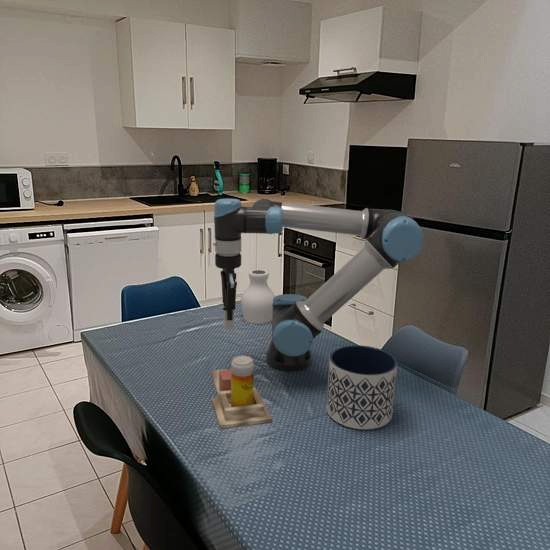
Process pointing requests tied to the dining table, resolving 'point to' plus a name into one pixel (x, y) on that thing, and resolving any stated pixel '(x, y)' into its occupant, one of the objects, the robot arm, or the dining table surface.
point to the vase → (257, 299)
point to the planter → (361, 386)
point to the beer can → (242, 381)
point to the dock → (237, 408)
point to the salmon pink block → (225, 380)
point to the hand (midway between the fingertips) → (229, 328)
